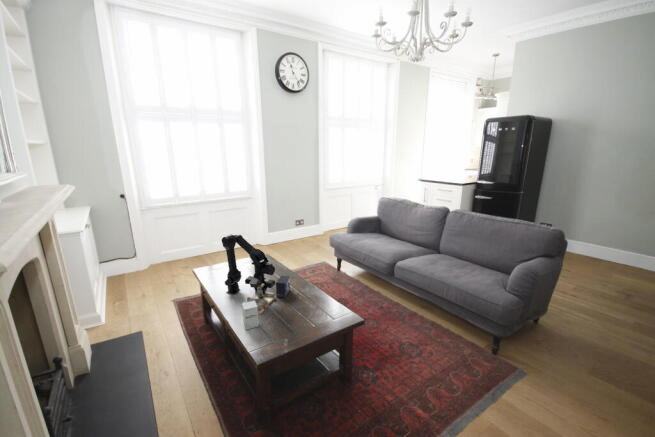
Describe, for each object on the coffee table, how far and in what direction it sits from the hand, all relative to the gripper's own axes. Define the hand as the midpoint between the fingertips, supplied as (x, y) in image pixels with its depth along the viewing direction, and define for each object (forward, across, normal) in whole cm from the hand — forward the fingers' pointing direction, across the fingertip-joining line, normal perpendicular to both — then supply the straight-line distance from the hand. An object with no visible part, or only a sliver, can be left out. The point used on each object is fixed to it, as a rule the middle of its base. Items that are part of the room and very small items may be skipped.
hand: (260, 294), depth 189 cm
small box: (+5, +9, +13) cm, 17 cm away
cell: (+2, 0, 0) cm, 2 cm away
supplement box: (+5, +8, -24) cm, 26 cm away
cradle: (+5, 0, 0) cm, 5 cm away
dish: (+5, +4, -12) cm, 13 cm away
